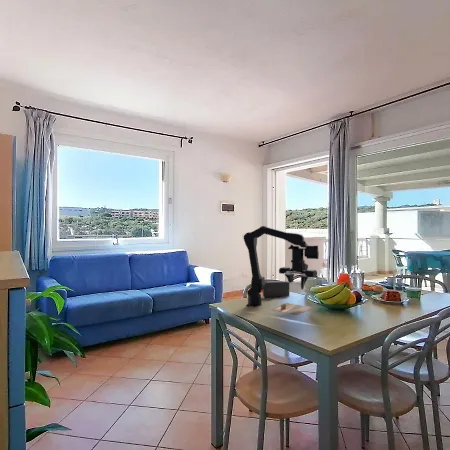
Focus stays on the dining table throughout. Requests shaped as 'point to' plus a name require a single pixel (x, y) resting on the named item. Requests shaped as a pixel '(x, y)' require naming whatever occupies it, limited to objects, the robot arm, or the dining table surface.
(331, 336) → the dining table surface
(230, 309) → the dining table surface
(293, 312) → the mounting board
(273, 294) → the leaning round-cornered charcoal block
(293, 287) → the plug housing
